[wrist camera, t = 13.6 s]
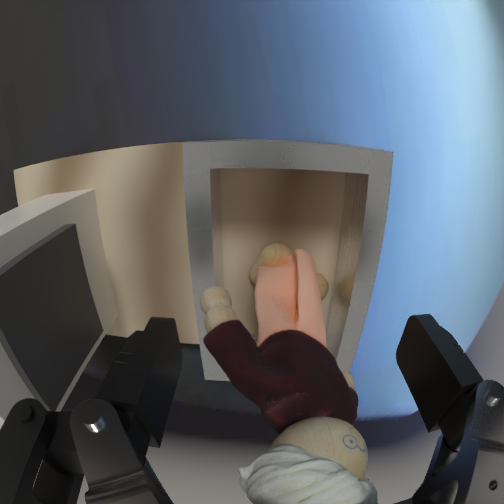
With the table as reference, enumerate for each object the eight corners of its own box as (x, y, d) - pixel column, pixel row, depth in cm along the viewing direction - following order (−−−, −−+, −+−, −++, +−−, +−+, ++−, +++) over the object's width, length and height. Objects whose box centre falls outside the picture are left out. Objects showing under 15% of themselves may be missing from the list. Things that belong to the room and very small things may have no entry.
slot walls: (366, 147, 12) (393, 152, 9) (336, 344, 17) (347, 377, 14) (198, 141, 12) (182, 143, 10) (211, 344, 17) (205, 379, 14)
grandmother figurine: (357, 276, 15) (467, 490, 3) (317, 325, 16) (368, 536, 5) (235, 206, 13) (171, 515, 2) (200, 267, 15) (122, 523, 3)
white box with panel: (103, 188, 13) (-69, 290, 3) (126, 314, 16) (48, 460, 6) (45, 194, 13) (-98, 277, 3) (72, 307, 16) (-13, 423, 6)
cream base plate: (372, 147, 14) (384, 149, 12) (345, 329, 18) (351, 343, 17) (27, 166, 14) (13, 170, 12) (61, 314, 19) (53, 325, 17)
